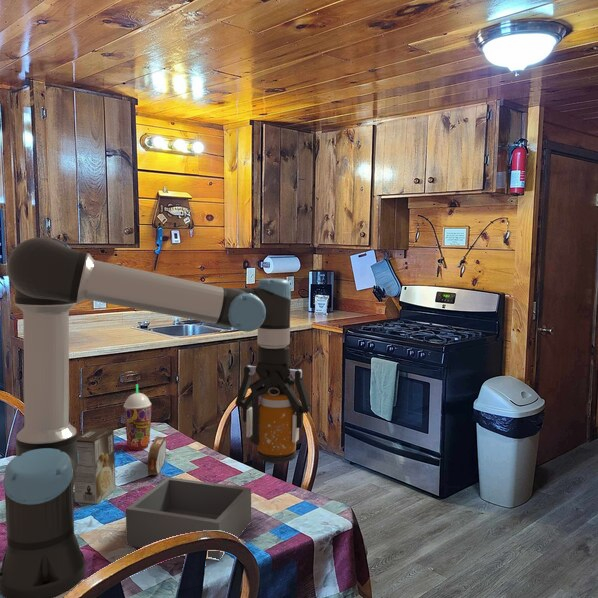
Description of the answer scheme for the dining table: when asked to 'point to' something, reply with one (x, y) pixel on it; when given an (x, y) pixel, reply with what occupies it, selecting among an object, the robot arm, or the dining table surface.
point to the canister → (272, 422)
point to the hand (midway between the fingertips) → (272, 438)
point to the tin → (156, 456)
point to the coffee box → (95, 466)
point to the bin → (187, 511)
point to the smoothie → (137, 420)
